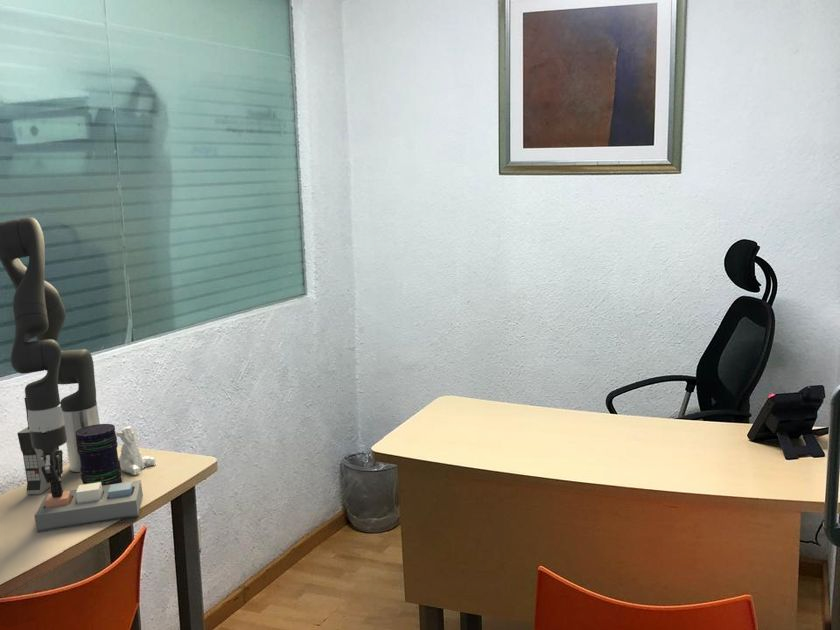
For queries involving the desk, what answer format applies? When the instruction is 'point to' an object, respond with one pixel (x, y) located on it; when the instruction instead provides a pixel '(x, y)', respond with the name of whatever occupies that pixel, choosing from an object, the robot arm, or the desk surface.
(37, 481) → the vintage mobile phone
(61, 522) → the key console
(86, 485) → the white key
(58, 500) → the orange block
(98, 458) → the storage jar
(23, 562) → the desk surface
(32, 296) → the robot arm
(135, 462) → the sitting furry creature
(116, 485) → the blue-grey block
